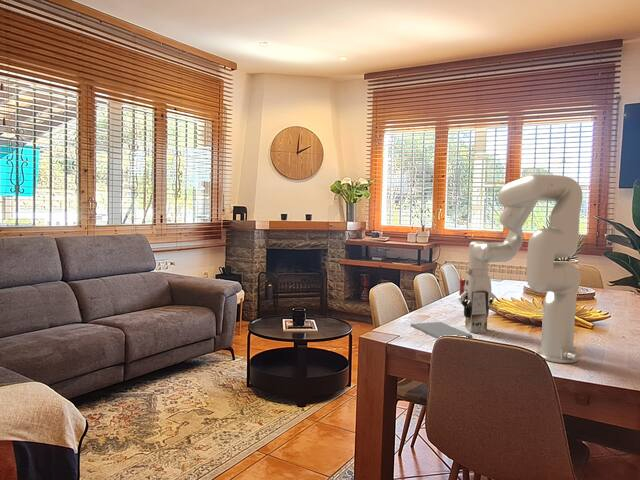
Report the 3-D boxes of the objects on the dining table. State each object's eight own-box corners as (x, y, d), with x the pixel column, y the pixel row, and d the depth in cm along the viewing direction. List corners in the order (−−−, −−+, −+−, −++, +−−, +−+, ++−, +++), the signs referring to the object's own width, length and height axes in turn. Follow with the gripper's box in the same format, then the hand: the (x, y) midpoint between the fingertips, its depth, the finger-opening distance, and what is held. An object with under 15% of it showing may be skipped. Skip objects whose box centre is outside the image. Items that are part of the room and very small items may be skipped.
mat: (472, 337, 188) (472, 335, 187) (439, 339, 183) (439, 337, 183) (440, 323, 208) (440, 321, 208) (410, 325, 204) (410, 323, 204)
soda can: (456, 300, 261) (457, 277, 260) (468, 299, 263) (469, 277, 262) (464, 303, 254) (465, 279, 253) (476, 302, 256) (477, 279, 256)
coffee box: (487, 333, 194) (489, 292, 193) (470, 332, 194) (472, 291, 193) (480, 327, 203) (482, 288, 202) (464, 327, 203) (466, 287, 202)
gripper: (464, 274, 191) (462, 319, 192) (502, 273, 196) (500, 317, 197) (453, 271, 198) (451, 315, 199) (490, 270, 203) (488, 313, 205)
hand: (476, 316), depth 198 cm, fingers closed on coffee box, 7 cm apart
